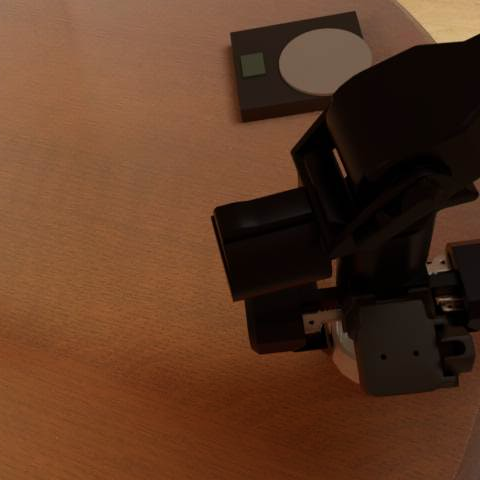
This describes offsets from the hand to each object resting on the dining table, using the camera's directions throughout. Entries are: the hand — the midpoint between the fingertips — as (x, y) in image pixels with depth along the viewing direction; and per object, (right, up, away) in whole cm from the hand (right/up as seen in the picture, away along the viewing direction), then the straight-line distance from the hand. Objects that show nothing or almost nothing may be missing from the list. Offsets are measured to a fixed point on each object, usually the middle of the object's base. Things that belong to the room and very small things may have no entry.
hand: (371, 345), depth 60 cm
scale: (-2, +27, +22) cm, 35 cm away
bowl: (0, -1, +1) cm, 1 cm away
